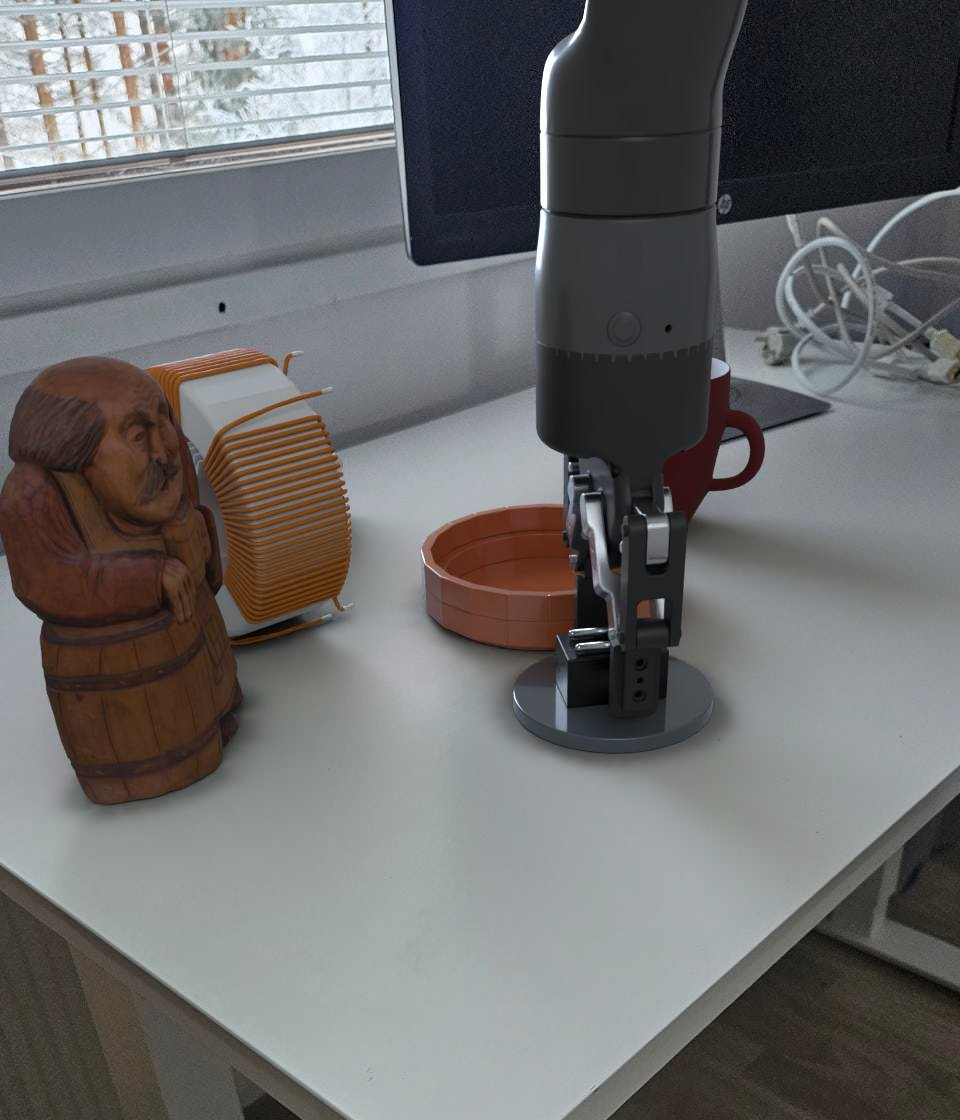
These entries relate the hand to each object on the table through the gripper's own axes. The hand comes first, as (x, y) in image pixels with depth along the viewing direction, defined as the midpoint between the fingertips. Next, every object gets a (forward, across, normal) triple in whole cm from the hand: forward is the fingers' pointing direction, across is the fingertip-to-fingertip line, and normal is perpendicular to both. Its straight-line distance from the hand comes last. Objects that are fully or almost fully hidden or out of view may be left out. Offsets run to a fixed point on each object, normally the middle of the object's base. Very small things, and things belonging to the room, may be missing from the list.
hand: (613, 675), depth 61 cm
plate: (+2, 0, 0) cm, 2 cm away
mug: (+2, +24, -10) cm, 26 cm away
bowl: (+2, +13, +1) cm, 13 cm away
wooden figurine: (+2, 0, +22) cm, 22 cm away
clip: (+1, 0, 0) cm, 1 cm away
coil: (+2, +14, +18) cm, 23 cm away
